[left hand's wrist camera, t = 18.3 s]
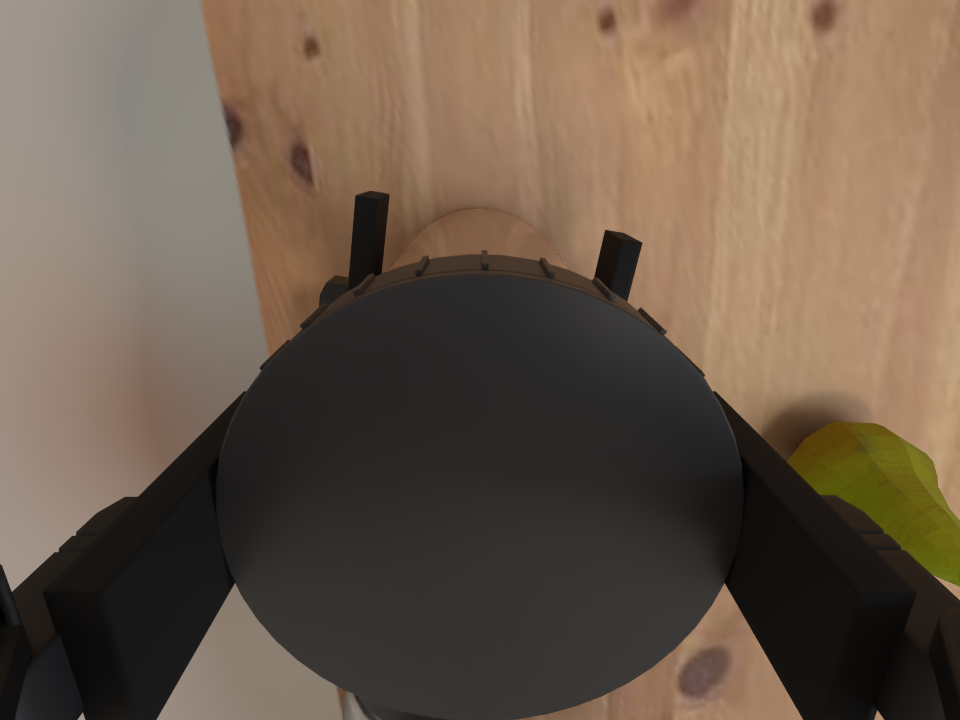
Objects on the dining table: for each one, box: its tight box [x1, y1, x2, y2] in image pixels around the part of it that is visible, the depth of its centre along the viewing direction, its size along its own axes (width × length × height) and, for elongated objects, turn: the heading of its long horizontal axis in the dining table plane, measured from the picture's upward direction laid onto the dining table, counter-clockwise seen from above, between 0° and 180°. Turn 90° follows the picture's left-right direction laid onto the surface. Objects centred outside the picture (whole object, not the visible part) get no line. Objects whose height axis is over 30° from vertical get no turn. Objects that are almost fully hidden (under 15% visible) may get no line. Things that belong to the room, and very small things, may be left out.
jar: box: [389, 208, 571, 271], centre depth 20 cm, size 9×9×19 cm
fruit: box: [786, 421, 960, 586], centre depth 26 cm, size 6×6×12 cm
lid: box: [215, 250, 745, 720], centre depth 11 cm, size 10×10×2 cm
